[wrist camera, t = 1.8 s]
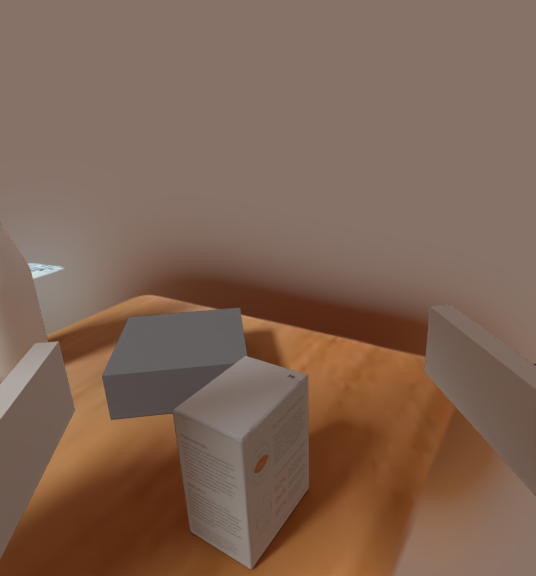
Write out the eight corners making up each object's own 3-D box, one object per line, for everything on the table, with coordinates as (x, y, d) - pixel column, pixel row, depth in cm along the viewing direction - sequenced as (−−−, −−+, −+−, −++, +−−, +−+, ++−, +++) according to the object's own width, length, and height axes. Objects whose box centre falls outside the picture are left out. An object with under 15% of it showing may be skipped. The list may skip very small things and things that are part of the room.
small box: (252, 462, 36) (245, 352, 33) (311, 489, 33) (310, 372, 30) (187, 533, 30) (169, 407, 27) (251, 574, 27) (241, 439, 24)
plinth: (110, 419, 43) (102, 376, 41) (134, 352, 56) (128, 317, 54) (251, 404, 44) (248, 361, 42) (242, 342, 57) (239, 307, 55)
